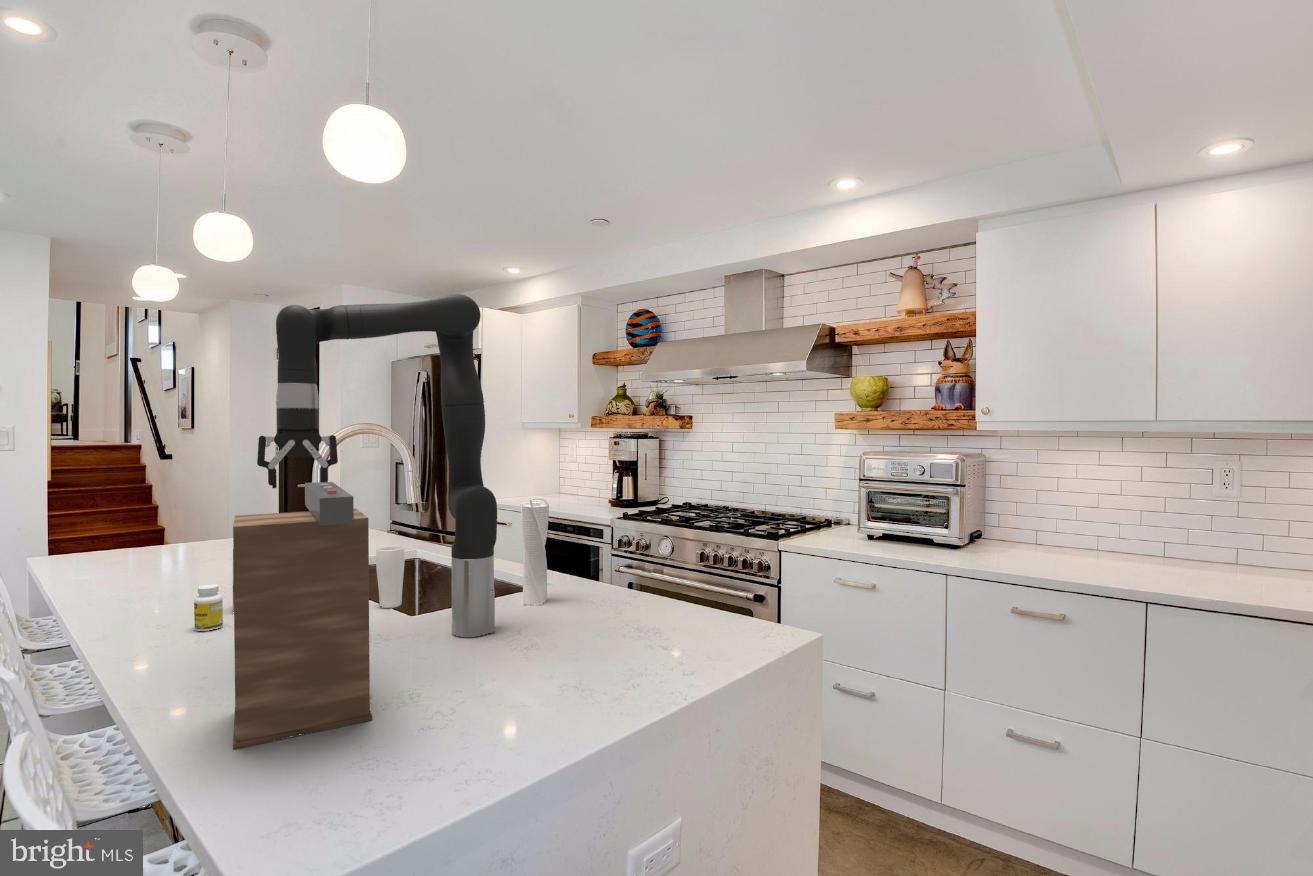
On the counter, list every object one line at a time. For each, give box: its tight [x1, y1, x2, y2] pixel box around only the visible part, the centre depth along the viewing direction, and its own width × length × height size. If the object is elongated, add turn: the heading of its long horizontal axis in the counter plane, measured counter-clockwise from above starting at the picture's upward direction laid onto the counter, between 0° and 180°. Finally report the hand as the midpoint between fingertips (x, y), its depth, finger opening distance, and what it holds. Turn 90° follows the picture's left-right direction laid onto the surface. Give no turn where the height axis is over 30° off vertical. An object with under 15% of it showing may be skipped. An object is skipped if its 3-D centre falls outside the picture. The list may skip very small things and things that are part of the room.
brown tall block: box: [232, 508, 373, 750], centre depth 107 cm, size 15×19×32 cm
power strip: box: [304, 481, 355, 526], centre depth 112 cm, size 30×4×4 cm, turn 31°
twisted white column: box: [520, 496, 550, 606], centre depth 176 cm, size 8×8×28 cm
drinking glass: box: [375, 545, 405, 609], centre depth 173 cm, size 7×7×15 cm
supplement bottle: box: [193, 583, 224, 632], centre depth 153 cm, size 5×5×10 cm
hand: (298, 486), depth 136 cm, fingers open, 8 cm apart
